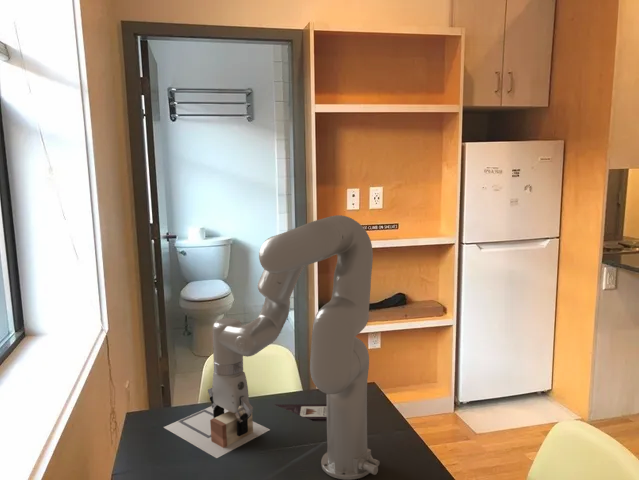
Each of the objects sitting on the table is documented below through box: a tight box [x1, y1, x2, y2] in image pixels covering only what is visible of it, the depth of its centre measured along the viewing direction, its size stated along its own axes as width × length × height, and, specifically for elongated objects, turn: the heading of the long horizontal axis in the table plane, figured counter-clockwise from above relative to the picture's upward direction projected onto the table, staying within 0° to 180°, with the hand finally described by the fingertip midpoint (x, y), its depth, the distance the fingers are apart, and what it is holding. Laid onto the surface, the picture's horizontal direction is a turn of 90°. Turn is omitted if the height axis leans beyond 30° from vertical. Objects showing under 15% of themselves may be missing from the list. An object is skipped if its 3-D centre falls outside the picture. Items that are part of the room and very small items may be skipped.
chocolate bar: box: [275, 403, 327, 422], centre depth 152 cm, size 9×1×18 cm
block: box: [210, 406, 254, 448], centre depth 138 cm, size 10×5×6 cm, turn 138°
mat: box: [163, 405, 271, 459], centre depth 143 cm, size 24×18×1 cm
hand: (230, 427), depth 138 cm, fingers open, 9 cm apart
